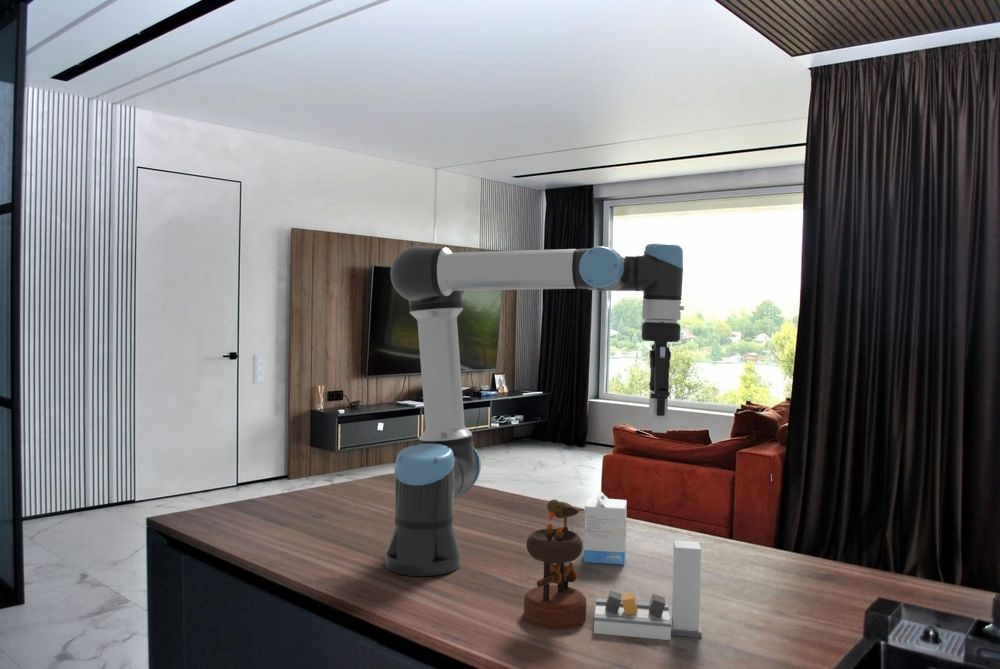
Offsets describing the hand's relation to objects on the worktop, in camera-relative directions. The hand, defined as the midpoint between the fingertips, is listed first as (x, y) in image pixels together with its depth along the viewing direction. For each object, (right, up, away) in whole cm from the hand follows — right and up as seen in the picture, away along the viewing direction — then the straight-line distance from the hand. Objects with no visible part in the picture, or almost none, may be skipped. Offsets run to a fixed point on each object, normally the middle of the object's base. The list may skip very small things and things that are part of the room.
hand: (657, 427), depth 154 cm
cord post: (-1, -29, -29) cm, 42 cm away
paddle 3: (-6, -27, -29) cm, 40 cm away
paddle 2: (-10, -27, -28) cm, 40 cm away
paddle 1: (-13, -27, -27) cm, 41 cm away
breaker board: (-10, -29, -28) cm, 42 cm away
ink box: (-9, -29, +7) cm, 31 cm away
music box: (-23, -29, -25) cm, 45 cm away
